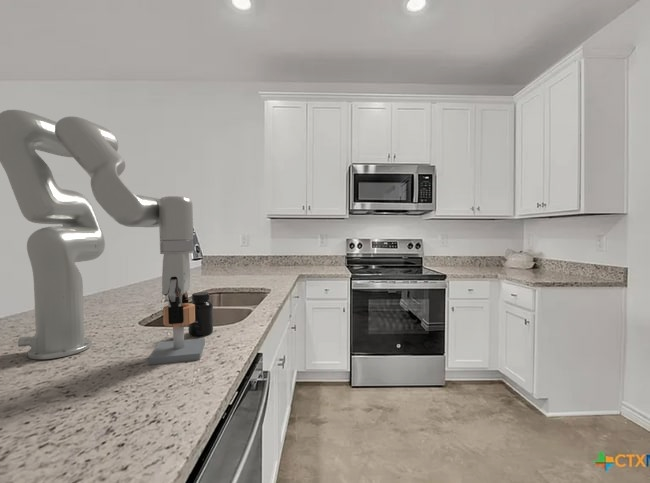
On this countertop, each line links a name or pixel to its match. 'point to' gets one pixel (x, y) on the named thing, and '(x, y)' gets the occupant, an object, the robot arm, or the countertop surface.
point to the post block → (177, 349)
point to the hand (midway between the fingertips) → (179, 318)
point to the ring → (187, 311)
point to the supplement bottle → (201, 315)
